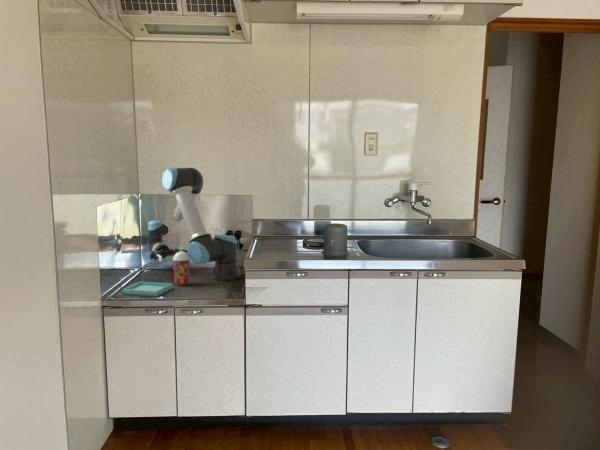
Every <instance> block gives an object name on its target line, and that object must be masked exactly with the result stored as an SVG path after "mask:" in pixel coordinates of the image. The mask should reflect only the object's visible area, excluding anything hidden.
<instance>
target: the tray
mask: <svg viewBox="0 0 600 450" xmlns="http://www.w3.org/2000/svg"><path fill="white" fill-rule="evenodd" d="M172 289H173V283H166V282H165V283H163V282H151V281H138V282H136V283H134V284H132V285H129V286H126V287H125V288H123V289H122V295H127V296H128V295H129V296H140V297H155V298H157V297H159V296H160V295H163V294H165V293H166V292H169V291H170V290H172Z"/></svg>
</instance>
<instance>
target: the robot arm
mask: <svg viewBox="0 0 600 450" xmlns="http://www.w3.org/2000/svg"><path fill="white" fill-rule="evenodd" d="M161 184H162V186H163V189H164V190H166V191H167V192H170V194H171V196H172V197H174V198H175V199H176V202H177V205H176V207H175V210H174V211H175V213H174V212H173V213H174V219H175V221H177V222H178V221H181V220H182V219H184V225H185V226H186V229H187V231H188V233H189V234H188V235H189V237H190V239H189V241H188V243H189V244H188V246H187V249H181V251H182V252H185V253H186V254H187V255H188V257H189V260H191V261H192V262H193V263H195V264H198V265H202V264H204V265H205V264H208V263H212V262H214V266H213V269H212V274H211V276H212V279H213V280H215V281H224V282H225V281H233V280H237V279H239V278H241V270H240V268H239V266H238V265H239V264H238V261H237V260H238V257H237V255H238V254H237V252H238V251H237V238H236V236H234V235H228V234H227V235H226V234H214V236H213V238H212V234H211V233H209V232H207V229H206V227H205V225H204V223H203V219H202V217H201V214H200V212H199V209H198V205H197V204H196V201H195V200H196V198H197V196H198V195H199V194H201V192H202V190H203V188H204V177H203V175H202V173H201V172H200V171H199V170H198V169H197V168H195V167H173V168H172V167H171V168H167V169H166V170H165V171H164V172H163V174H162V179H161ZM162 223H163V222H162V220H159V221H155V220H150V221H148V222H147V232H148V242H149V244H148V243H147V244H148V249H147V250H148V251H149V253H150V255H149V258H150V260H153V261H155V262H156V261H159V262H160V263H161V262H163V259H165V258H167V257H169V256H171V257H172V256H173V257H174V255H175V254H176V253H177V252H180V248H179V249H178V248H170V247H169V246H167V245H166V244H165V243H163V237H164V235H166V234H167V233H168V231H169V230H168V227H167V226H166V225H164V224H162ZM166 236H167V235H166Z"/></svg>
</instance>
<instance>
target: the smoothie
mask: <svg viewBox="0 0 600 450" xmlns="http://www.w3.org/2000/svg"><path fill="white" fill-rule="evenodd" d="M179 249H180V252H177V253H176V254H175V255H173V257H172V266H173V275H174V283H175V285H176V286H178V287H185V286H188V284H189V282H190V257H189V255H188V253H187V254H186V253H185V252H182V251H181V250H182V246H181V245H180V246H179Z"/></svg>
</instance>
